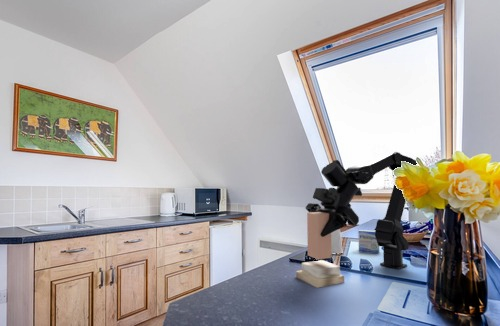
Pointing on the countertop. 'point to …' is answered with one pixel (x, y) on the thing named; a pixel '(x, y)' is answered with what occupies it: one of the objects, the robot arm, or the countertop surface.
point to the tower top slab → (320, 269)
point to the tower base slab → (321, 281)
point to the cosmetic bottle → (336, 242)
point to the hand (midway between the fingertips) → (315, 234)
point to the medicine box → (368, 241)
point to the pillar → (318, 236)
